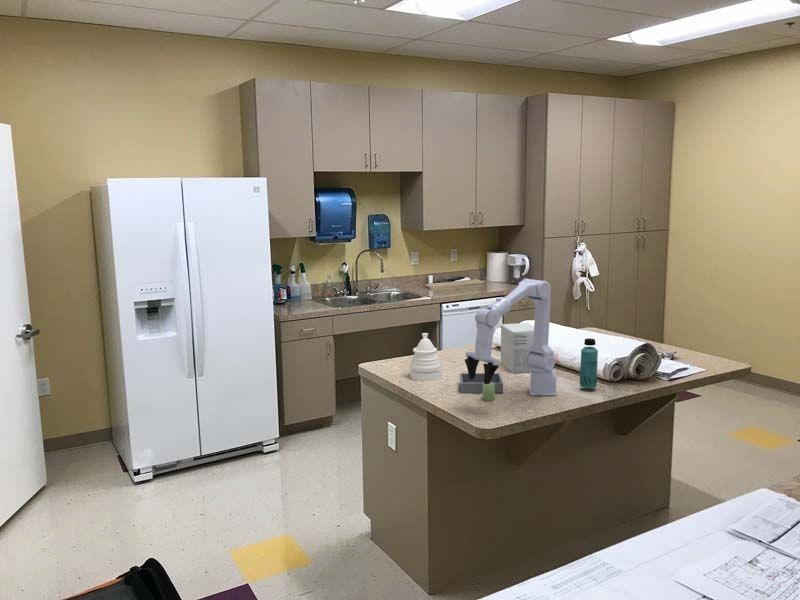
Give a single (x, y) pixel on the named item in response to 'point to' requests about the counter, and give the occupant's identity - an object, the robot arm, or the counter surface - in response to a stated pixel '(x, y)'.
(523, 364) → the supplement box
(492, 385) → the cucumber chunk
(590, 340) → the beverage bottle
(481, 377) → the bin
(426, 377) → the honey pot
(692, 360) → the counter surface
